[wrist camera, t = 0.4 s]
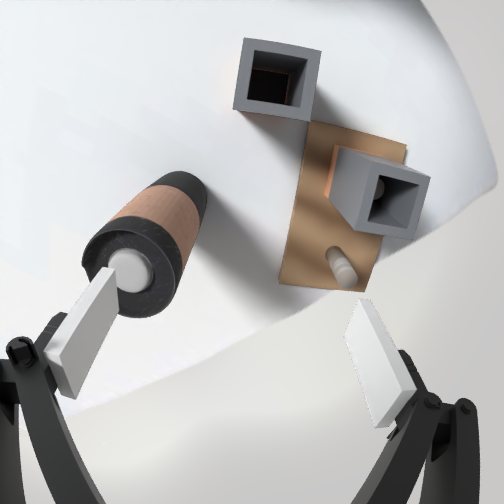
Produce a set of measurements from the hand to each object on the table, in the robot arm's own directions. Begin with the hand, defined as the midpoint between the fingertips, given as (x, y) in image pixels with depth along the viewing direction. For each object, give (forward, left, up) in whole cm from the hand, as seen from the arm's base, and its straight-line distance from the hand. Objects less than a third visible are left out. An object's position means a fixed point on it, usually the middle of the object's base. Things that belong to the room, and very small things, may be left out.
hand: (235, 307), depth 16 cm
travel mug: (+2, -8, -25) cm, 26 cm away
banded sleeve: (-13, +1, -25) cm, 28 cm away
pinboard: (+1, +13, -25) cm, 28 cm away
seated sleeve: (-4, +13, -24) cm, 27 cm away
